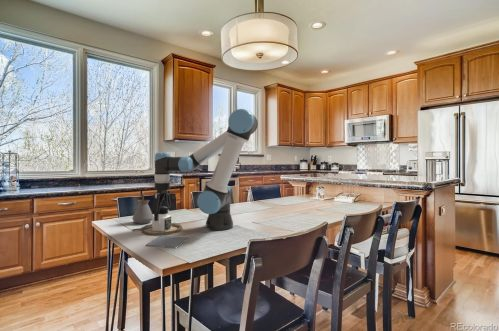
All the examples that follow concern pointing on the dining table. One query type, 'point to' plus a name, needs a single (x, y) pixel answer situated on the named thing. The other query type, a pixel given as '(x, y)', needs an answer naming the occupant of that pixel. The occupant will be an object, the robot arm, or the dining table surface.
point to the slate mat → (167, 241)
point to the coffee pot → (143, 212)
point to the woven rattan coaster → (161, 232)
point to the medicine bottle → (163, 220)
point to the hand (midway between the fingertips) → (161, 224)
